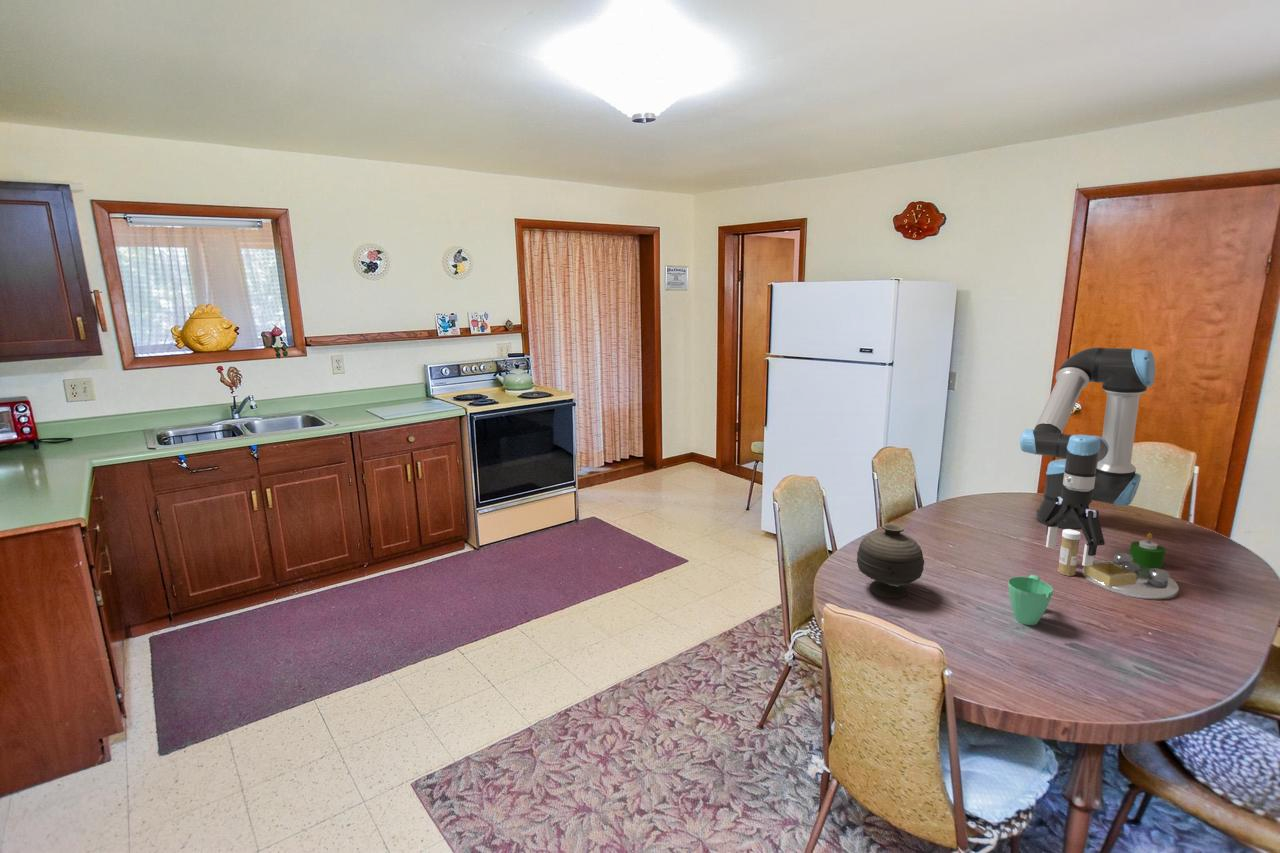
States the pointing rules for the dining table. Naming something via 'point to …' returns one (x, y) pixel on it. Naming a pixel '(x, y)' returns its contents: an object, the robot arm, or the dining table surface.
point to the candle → (1147, 553)
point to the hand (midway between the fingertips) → (1068, 555)
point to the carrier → (1131, 578)
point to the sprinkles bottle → (1069, 552)
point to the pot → (890, 561)
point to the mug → (1029, 598)
